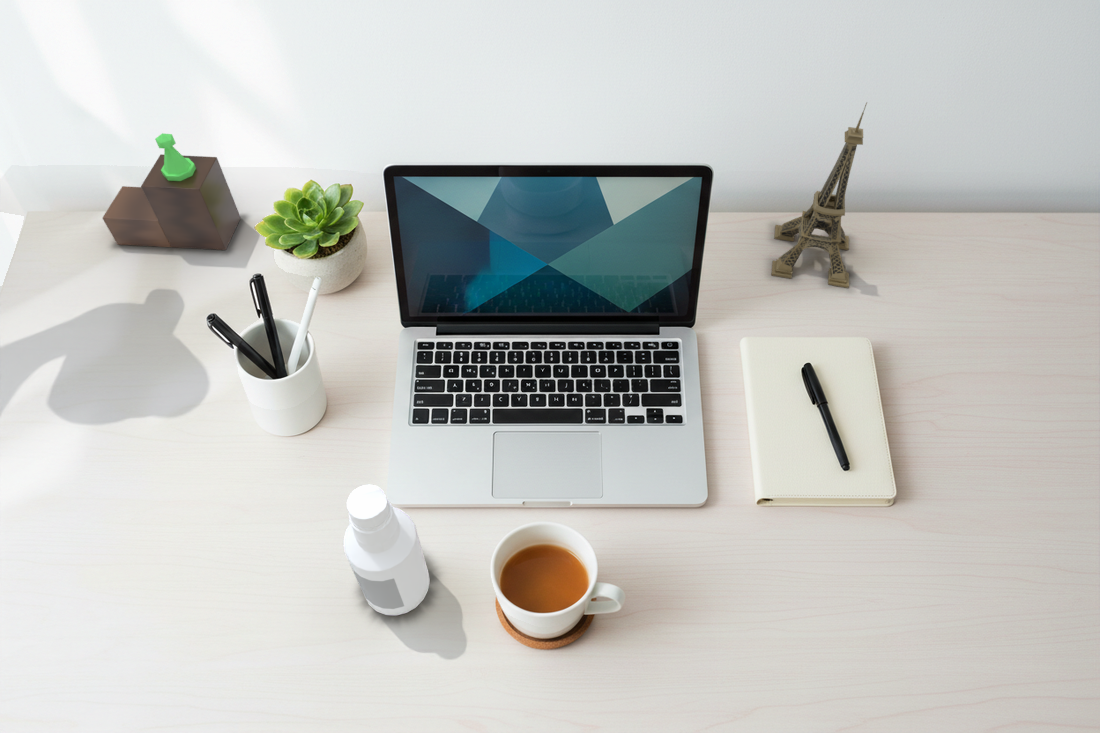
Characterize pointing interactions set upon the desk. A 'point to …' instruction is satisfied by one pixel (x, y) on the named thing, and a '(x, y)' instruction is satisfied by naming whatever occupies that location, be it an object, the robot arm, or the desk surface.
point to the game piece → (174, 160)
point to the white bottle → (384, 552)
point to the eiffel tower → (823, 219)
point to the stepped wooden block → (176, 209)
